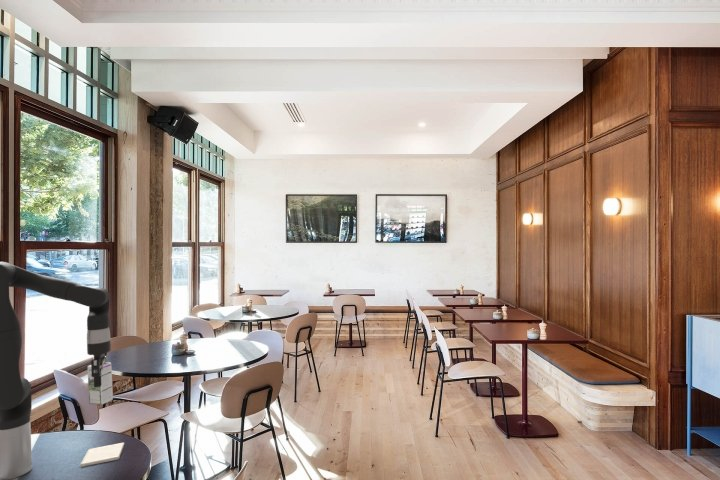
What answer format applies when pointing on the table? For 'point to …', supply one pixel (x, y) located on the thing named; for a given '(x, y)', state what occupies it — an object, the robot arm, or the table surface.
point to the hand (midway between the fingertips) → (100, 383)
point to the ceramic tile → (102, 454)
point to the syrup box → (105, 390)
